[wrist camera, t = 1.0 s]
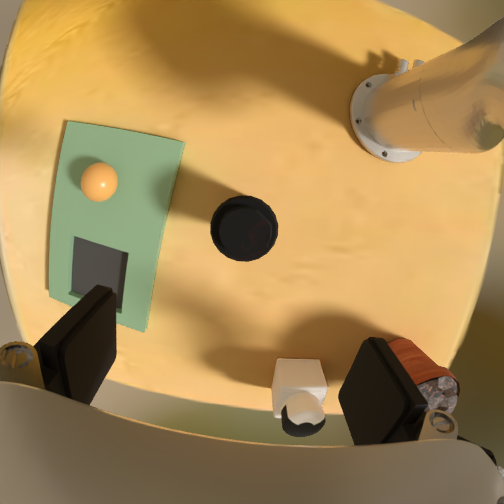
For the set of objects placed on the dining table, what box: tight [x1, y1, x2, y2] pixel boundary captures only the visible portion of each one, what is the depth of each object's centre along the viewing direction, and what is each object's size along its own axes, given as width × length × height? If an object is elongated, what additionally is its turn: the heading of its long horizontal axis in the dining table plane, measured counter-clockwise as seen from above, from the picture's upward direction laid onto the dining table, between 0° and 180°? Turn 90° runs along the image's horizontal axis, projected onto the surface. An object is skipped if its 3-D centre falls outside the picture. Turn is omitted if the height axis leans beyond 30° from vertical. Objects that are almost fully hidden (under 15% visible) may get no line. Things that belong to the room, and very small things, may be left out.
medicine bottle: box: [271, 358, 328, 437], centre depth 41 cm, size 7×7×12 cm
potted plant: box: [388, 338, 460, 414], centre depth 30 cm, size 16×15×35 cm
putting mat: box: [49, 121, 185, 332], centre depth 38 cm, size 28×18×2 cm, turn 164°
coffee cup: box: [210, 196, 278, 262], centre depth 34 cm, size 7×7×10 cm
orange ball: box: [81, 162, 118, 202], centre depth 33 cm, size 5×5×5 cm
